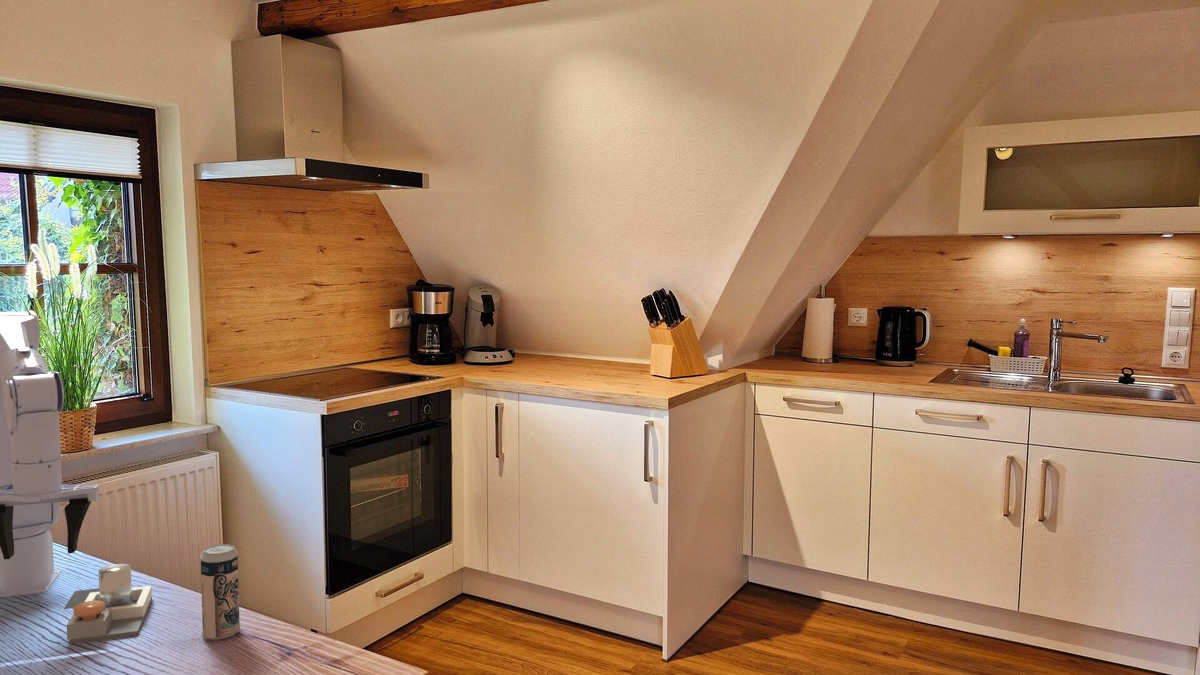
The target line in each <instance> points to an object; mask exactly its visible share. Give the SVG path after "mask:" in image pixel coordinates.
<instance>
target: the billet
mask: <svg viewBox="0 0 1200 675" xmlns="http://www.w3.org/2000/svg"><path fill="white" fill-rule="evenodd" d="M98 585H99V586H98V588H99V593H100V601H103V602H104V603H105V608H109V607H118V606H126V605H132V588H133V586H132V585H133V584H132V565H131V564H129V563H115V564H110V565H105V566H103V567H101V568H100V569H98Z"/></svg>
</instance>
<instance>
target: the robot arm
mask: <svg viewBox="0 0 1200 675" xmlns="http://www.w3.org/2000/svg"><path fill="white" fill-rule="evenodd" d="M39 319H40V318H39V317H38V315H37V313H36V312H35V311H33V310H27V311H0V598H5V597H17V596H25V595H35V594H42V593H46V592H48V591H49V589H50V588H51V587H52V585H53V584H54V582H55V581H56V580H57V578H58V577H59V575H60V574H61V573H62V570H61V569H55V564H54V562H55V560H54V559H55V558H54V542H53V539H54V538H53V535H52V533H51V531H52V526H53V525H56V523H57V522H58V521H59V519H60V514H61V507H60V506H61V503H66V505H65V507H63V508H64V514H65V515H64V516H65V521H66V522H65V523H66V529H67V531H66V532H67V545H66V548H67V554H74V553H75V552H76V551H77V549H78V540H79V537H80V532H81V529H82V525H83V522H84V520H85V516H86V515H87V512H88V510H89V508H90V506H91V504H92V502H95V501H97V500H98V499H99V497H100V492H99V490H100V488H99V484H63V474H62V457H61V454H62V453H61V452H62V451H61V435H60V434H61V433H60V430H61V429H60V415H59V413H60V414H61V413H62V412H63V409H64V404H65V403H64V401H65V391H64V384H63V381H62V377H61V375H60V373H59V372H58V371H50V370H49V369H48V366H47V364H46V362H45V360H44V358H43V356H42V355H41V353H40V352H38V349H39V344H40V340H41V327H40V321H39ZM57 412H58V413H57ZM67 503H68V504H67Z"/></svg>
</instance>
